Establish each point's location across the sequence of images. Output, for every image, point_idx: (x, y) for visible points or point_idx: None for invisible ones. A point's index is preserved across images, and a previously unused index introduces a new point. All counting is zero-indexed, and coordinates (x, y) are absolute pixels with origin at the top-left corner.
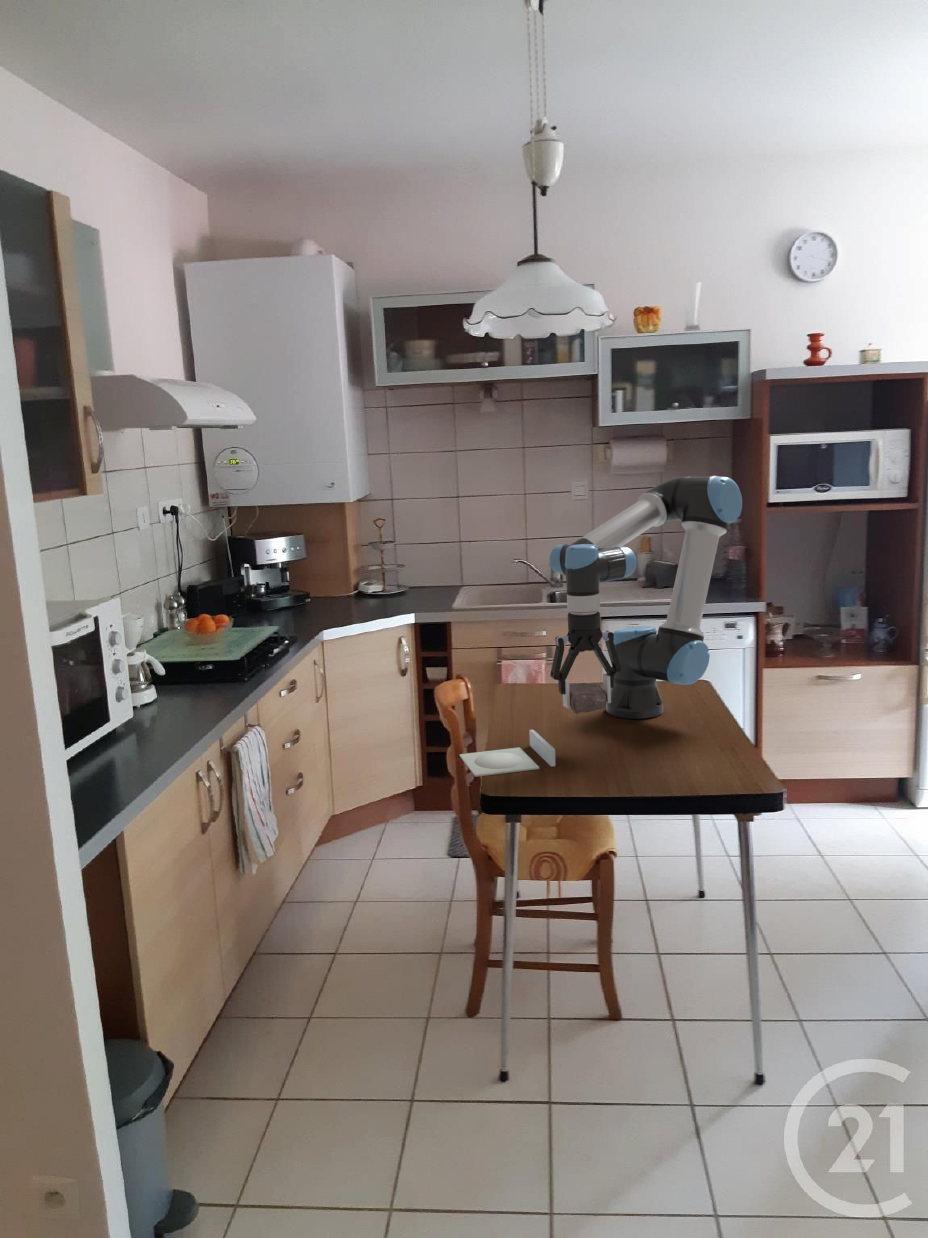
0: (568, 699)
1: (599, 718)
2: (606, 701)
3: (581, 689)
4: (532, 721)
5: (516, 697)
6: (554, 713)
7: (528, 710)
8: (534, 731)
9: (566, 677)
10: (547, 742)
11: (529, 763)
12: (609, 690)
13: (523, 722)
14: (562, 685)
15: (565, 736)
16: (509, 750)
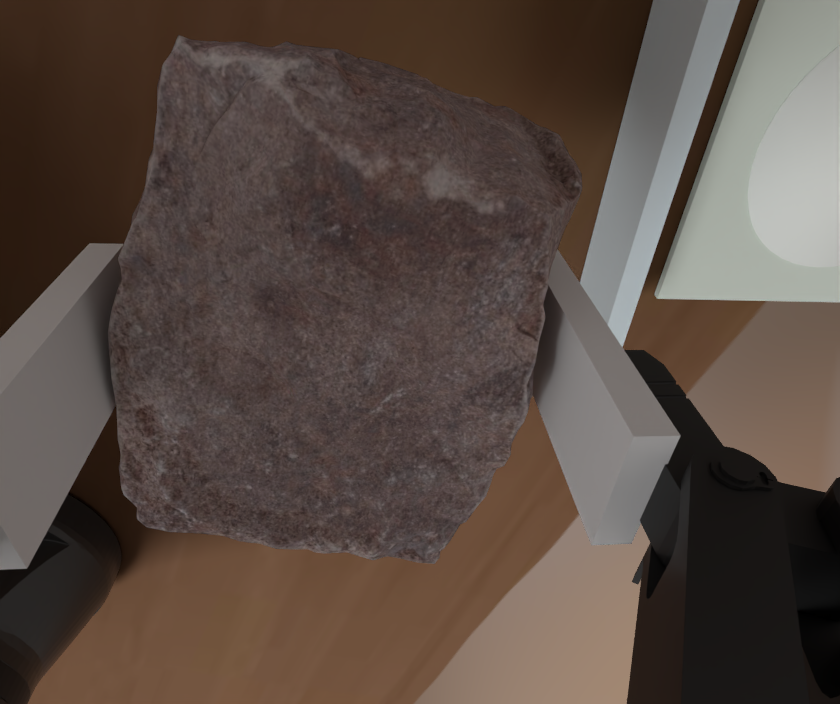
0: (565, 295)
1: None
2: None
3: (359, 437)
4: None
5: (383, 694)
6: (322, 584)
7: (396, 618)
8: None
9: (694, 493)
10: (671, 119)
11: (790, 26)
12: (38, 315)
13: (466, 542)
14: (681, 421)
15: None
16: (726, 275)
